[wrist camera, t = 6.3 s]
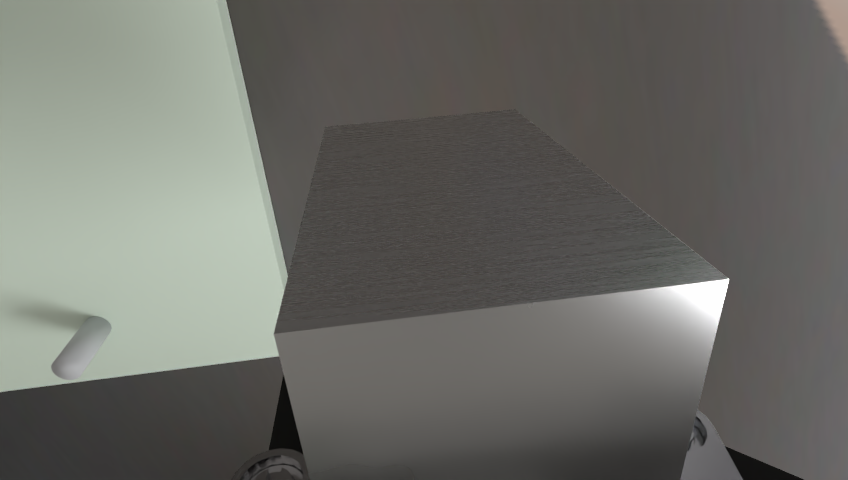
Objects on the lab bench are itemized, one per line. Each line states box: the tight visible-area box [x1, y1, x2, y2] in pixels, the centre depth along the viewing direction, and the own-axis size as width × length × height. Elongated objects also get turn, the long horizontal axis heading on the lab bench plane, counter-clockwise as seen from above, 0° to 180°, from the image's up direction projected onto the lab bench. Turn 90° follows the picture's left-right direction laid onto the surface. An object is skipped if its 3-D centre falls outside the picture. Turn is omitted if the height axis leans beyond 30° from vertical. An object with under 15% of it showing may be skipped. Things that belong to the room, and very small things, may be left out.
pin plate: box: [0, 0, 288, 392], centre depth 21 cm, size 18×20×4 cm
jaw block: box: [274, 109, 729, 480], centre depth 10 cm, size 4×10×7 cm, turn 3°
